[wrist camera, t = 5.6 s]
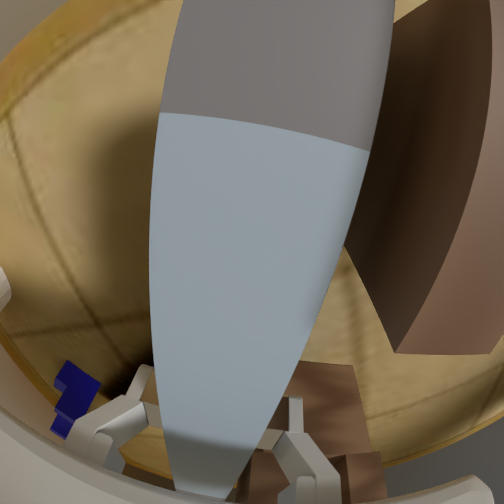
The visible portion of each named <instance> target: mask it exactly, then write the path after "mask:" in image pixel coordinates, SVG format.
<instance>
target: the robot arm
mask: <svg viewBox="0 0 504 504" xmlns="http://www.w3.org/2000/svg"><path fill="white" fill-rule="evenodd" d="M148 425H151V426H155V427H158V428H162V429H163V426H162V420H161V414H160V407H159V400H158V393H157V385H156V377H155V367H151V366H148V365H145V364H142V365H141V366H140V367H139V368H138V370H137V372H136V375H135V377H134V379H133V381H132V383H131V385H130V387H129V389H128V391H127V393H126V395H125V396H124V395H120V396H119V397H117V398H115V399H113V400H112V401H110V402H108V403H106V404H104V405H103V406H101V407H99V408H97V409H95V410H93V411H92V412H90V413H88V414H86V415H84V416H82V417H80V418H78V419H77V420H76V421H75V422H74V424H73V426H72V428H71V430H70V432H69V434H68V436H67V438H66V440H65V442H64V444H63V446H60V445H58V444H57V443H55V442H53V441H51V440H50V439H48V438H47V437H45V436H43V435H42V434H40V433H38V432H37V431H35V430H34V429H32V428H31V427H29V426H28V425H26V424H25V423H23V422H22V421H21V420H19V419H18V418H16V417H15V416H13V415H12V414H11V413H9V412H8V411H7V410H5V409H4V408H3V407H2V406H0V504H238V503H231V502H224V501H217V500H212V499H206V498H201V497H196V496H192V495H187V494H183V493H179V492H175V491H171V490H168V489H164V488H160V487H157V486H154V485H151V484H148V483H145V482H141V481H138V480H136V479H133V478H130V477H127V476H124V475H122V471H123V468H124V465H125V463H126V462H125V460H124V458H123V457H122V455H121V454H120V452H119V450H118V448H120V447H121V446H122V445H124V444H125V443H126V442H128V441H129V440H130V439H132V438H133V437H134V436H136V435H137V434H138V433H140V432H141V431H142V430H144V429H145V428H146V427H147V426H148ZM256 448H259V449H267V450H272V453H273V454H274V456H275V458H276V460H277V462H278V463H279V465H280V467H281V469H282V470H283V472H284V474H285V476H286V477H287V479H288V481H289V482H290V485H289V486H288V487H286V488H285V489H284V490H283V491H281V492H280V493H279V494H278V502H277V504H342V498H341V482H340V475H339V473H338V472H337V471H336V470H335V468H334V467H333V466H332V465H331V463H330V462H329V461H328V459H327V458H326V457H325V456H324V454H323V453H322V452H321V450H320V449H319V448H318V447H317V445H316V444H315V443H314V441H313V440H312V439H311V437H310V436H309V435H308V433H304V431H303V404H302V397H301V396H293V395H287V394H283V396H282V398H281V400H280V402H279V404H278V406H277V408H276V410H275V412H274V414H273V416H272V418H271V420H270V422H269V424H268V426H267V428H266V430H265V431H264V433H263V435H262V437H261V439H260V441H259V443H258V445H257V446H256ZM358 504H494V499H493V495H492V492H491V490H490V488H489V487H488V486H487V485H486V484H485V483H483V482H482V481H481V480H480V479H479V478H477V477H476V476H474V475H468V476H465V477H462V478H459V479H457V480H454V481H451V482H448V483H446V484H443V485H439V486H436V487H433V488H430V489H426V490H423V491H419V492H415V493H412V494H408V495H403V496H399V497H394V498H389V499H384V500H378V501H372V502H365V503H358Z"/></svg>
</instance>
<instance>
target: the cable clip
mask: <svg viewBox="0 0 504 504" xmlns="http://www.w3.org/2000/svg"><path fill="white" fill-rule="evenodd" d="M100 385H101V383H100V382H98V381H97V380H95V379H94V378H92V377H91V376H89V375H88V374H86V373H85V372H83V371H82V370H81V369H79V368H78V367H76V366H75V365H74V364H72V363H71V362H70V361H68V360H67V361H66V363H65V364H64V366H63V367H62V369H61V370H60V372H59V373H58V375H57V376H56V378H55V383H54V387H56V388H57V389H58V390H60V391H61V392H62V393H63V394H62V396H61V398H60V400H59V401H58V403H57V405H56V407H55V412H56V413H58V414H57V416H56V418H55V420H54V422H53V424H52V426H51V428H50V430H51V431H52V432H54V433H55V434H57V435H58V436H60V437H61V438H63V439H64V440H66V438H67V436H68V434H69V432H70V430H71V428H72V426H73V424H74V422H75V421H76V420H77V419H78V418H80V417H82V416H84V415H85V414H86V412H87V410H88V408H89V406H90V404H91V402H92V400H93V398H94V397H95V395H96V393H97V391H98V389H99V387H100Z"/></svg>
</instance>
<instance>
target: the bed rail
mask: <svg viewBox="0 0 504 504" xmlns="http://www.w3.org/2000/svg"><path fill="white" fill-rule="evenodd" d="M394 9H395V0H184V1H183V4H182V8H181V12H180V15H179V19H178V23H177V27H176V31H175V35H174V39H173V43H172V48H171V52H170V57H169V62H168V67H167V72H166V77H165V82H164V88H163V94H162V100H161V106H160V113H159V120H158V128H157V136H156V144H155V154H154V164H153V176H152V189H151V206H150V231H149V291H150V316H151V332H152V346H153V357H154V367H155V377H156V385H157V393H158V400H159V407H160V414H161V420H162V426H163V432H164V438H165V443H166V448H167V453H168V458H169V463H170V467H171V472H172V476H173V480H174V484H175V489H176V492H179V493H183V494H187V495H192V496H196V497H201V498H206V499H212V500H217V501H225V499H226V497H227V496H228V494H229V493H230V491H231V489H232V488H233V486H234V485H235V483H236V481H237V480H238V478H239V476H240V475H241V473H242V471H243V469H244V468H245V466H246V464H247V463H248V461H249V459H250V457H251V455H252V454H253V452H254V450H255V448H256V446H257V445H258V443H259V441H260V439H261V437H262V435H263V433H264V431H265V430H266V428H267V426H268V424H269V422H270V420H271V418H272V416H273V414H274V412H275V410H276V408H277V406H278V404H279V402H280V400H281V398H282V396H283V394H284V392H285V389H286V387H287V385H288V383H289V381H290V379H291V377H292V374H293V372H294V370H295V368H296V366H297V363H298V361H299V359H300V356H301V354H302V352H303V350H304V347H305V345H306V343H307V340H308V338H309V335H310V333H311V331H312V328H313V326H314V323H315V321H316V318H317V316H318V313H319V311H320V308H321V306H322V303H323V300H324V298H325V295H326V292H327V290H328V287H329V284H330V282H331V279H332V276H333V273H334V270H335V268H336V265H337V262H338V259H339V256H340V253H341V250H342V247H343V244H344V241H345V238H346V235H347V232H348V229H349V226H350V222H351V219H352V216H353V213H354V209H355V206H356V202H357V199H358V196H359V192H360V189H361V185H362V181H363V178H364V174H365V170H366V166H367V162H368V158H369V154H370V150H371V146H372V142H373V138H374V133H375V129H376V125H377V120H378V115H379V110H380V105H381V100H382V95H383V90H384V84H385V79H386V73H387V66H388V60H389V53H390V46H391V38H392V29H393V20H394Z"/></svg>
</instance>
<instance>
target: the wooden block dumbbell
mask: <svg viewBox="0 0 504 504" xmlns="http://www.w3.org/2000/svg"><path fill="white" fill-rule="evenodd" d="M344 246H345V248H346V250H347V252H348V254H349V256H350V258H351V260H352V262H353V264H354V266H355V268H356V270H357V272H358V274H359V276H360V278H361V280H362V282H363V284H364V286H365V288H366V290H367V292H368V294H369V296H370V298H371V301H372V303H373V305H374V307H375V309H376V312H377V314H378V316H379V318H380V320H381V323H382V325H383V327H384V330H385V332H386V334H387V337H388V339H389V341H390V344H391V346H392V348H393V351H394V353H400V354H427V355H473V354H490V353H491V351H492V350H493V348H494V347H495V346H496V344H497V343H498V341H499V340H500V338H501V337H502V335H503V334H504V0H428V1H426V2H425V3H423V4H422V5H420V6H419V7H417V8H416V9H414V10H412V11H411V12H409V13H408V14H406V15H405V16H404V17H402V18H401V19H399V20H398V21H396V22H395V23H393V29H392V38H391V46H390V53H389V60H388V66H387V73H386V79H385V84H384V90H383V95H382V100H381V105H380V110H379V115H378V120H377V125H376V129H375V133H374V138H373V142H372V146H371V150H370V154H369V158H368V162H367V166H366V170H365V174H364V178H363V181H362V185H361V189H360V192H359V196H358V199H357V202H356V206H355V209H354V213H353V216H352V219H351V222H350V226H349V229H348V232H347V235H346V238H345V241H344ZM284 394H287V395H293V396H301V397H302V404H303V431H304V433H308V435H309V436H310V437H311V439H312V440H313V441H314V443H315V444H316V445H317V447H318V448H319V449H320V450H321V452H322V453H323V454H324V456H325V457H326V458H327V459H328V461H329V462H330V463H331V465H332V466H333V467H334V468H335V470H336V471H337V472H338V473H339V475H340V482H341V498H342V504H358V503H365V502H372V501H378V500H384V499H388V497H387V490H386V484H385V478H384V473H383V467H382V461H381V456H380V451H379V452H371V446H370V441H369V436H368V431H367V426H366V421H365V416H364V411H363V407H362V402H361V398H360V393H359V389H358V385H357V380H356V376H355V372H354V368H353V366H347V365H335V364H324V363H315V362H306V361H298V363H297V366H296V368H295V370H294V372H293V374H292V377H291V379H290V381H289V383H288V385H287V387H286V389H285V392H284ZM289 485H290V482H289V481H288V479H287V477H286V476H285V474H284V472H283V470H282V469H281V467H280V465H279V463H278V462H277V460H276V458H275V456H274V454H273V453H272V450H267V449H259V448H255V450H254V452H253V454H252V455H251V457H250V459H249V461H248V463H247V464H246V466H245V468H244V469H243V471H242V473H241V475H240V476H239V478H238V480H237V489H236V498H235V503H238V504H277V502H278V494H279V493H280V492H281V491H283V490H284V489H285V488H286V487H288V486H289Z"/></svg>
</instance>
